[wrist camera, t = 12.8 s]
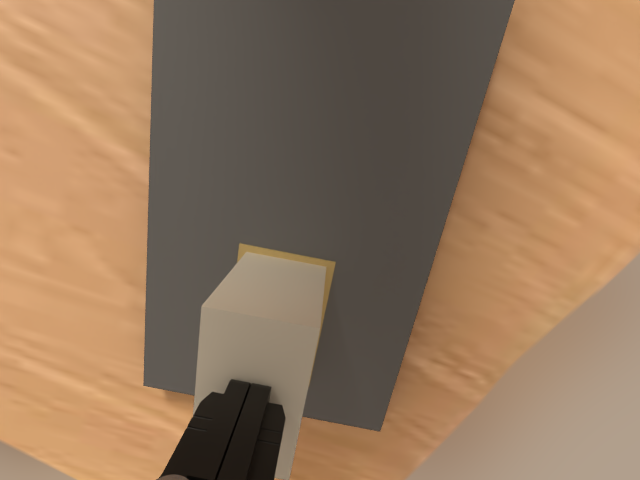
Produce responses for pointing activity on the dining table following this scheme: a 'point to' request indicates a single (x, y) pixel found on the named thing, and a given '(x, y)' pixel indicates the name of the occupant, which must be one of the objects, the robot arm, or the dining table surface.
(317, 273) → the block
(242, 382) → the robot arm
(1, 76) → the dining table surface
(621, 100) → the dining table surface
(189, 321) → the board
